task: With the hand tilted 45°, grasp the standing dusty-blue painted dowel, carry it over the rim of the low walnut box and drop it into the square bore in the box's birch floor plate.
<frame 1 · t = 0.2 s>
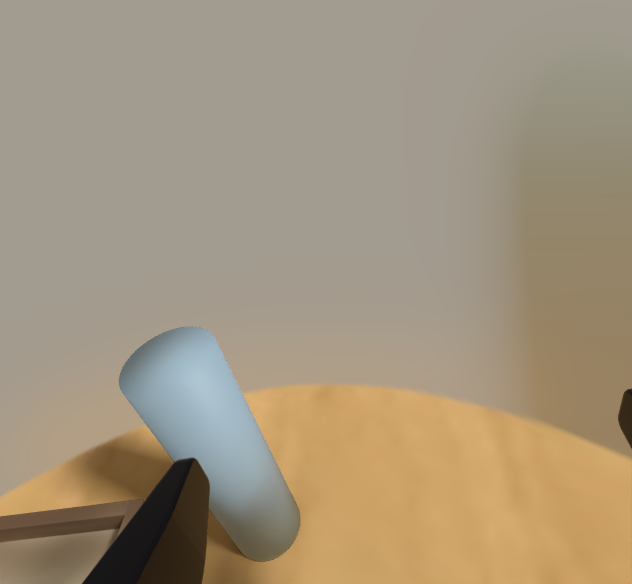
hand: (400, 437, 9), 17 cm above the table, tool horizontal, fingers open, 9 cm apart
peg: (267, 524, 25), on the table
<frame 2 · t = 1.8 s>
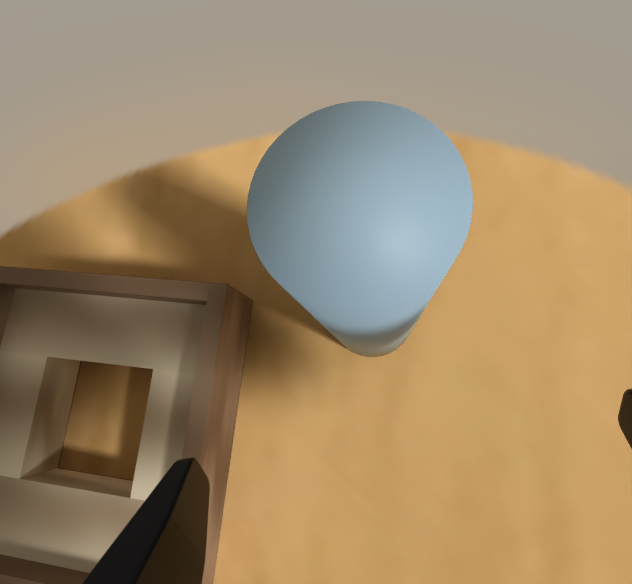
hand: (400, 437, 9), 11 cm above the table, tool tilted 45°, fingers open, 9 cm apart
peg: (371, 316, 21), on the table
bore box: (117, 419, 22), on the table
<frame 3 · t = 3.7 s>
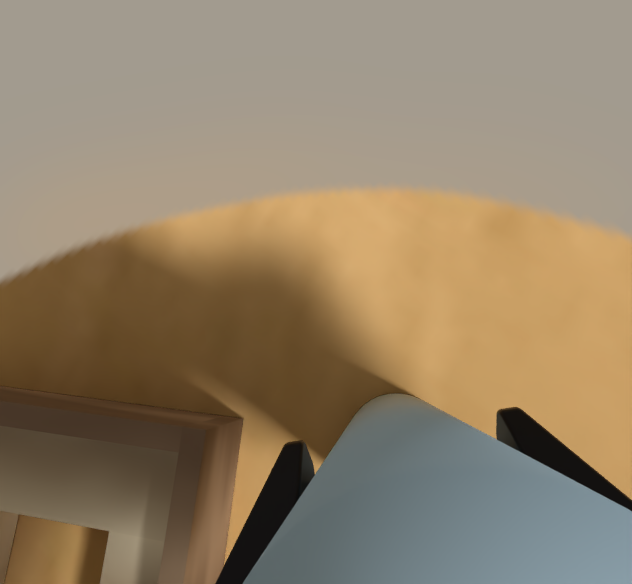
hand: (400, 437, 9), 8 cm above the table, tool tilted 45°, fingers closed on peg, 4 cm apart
peg: (398, 447, 16), on the table, touching gripper
bore box: (69, 573, 17), on the table
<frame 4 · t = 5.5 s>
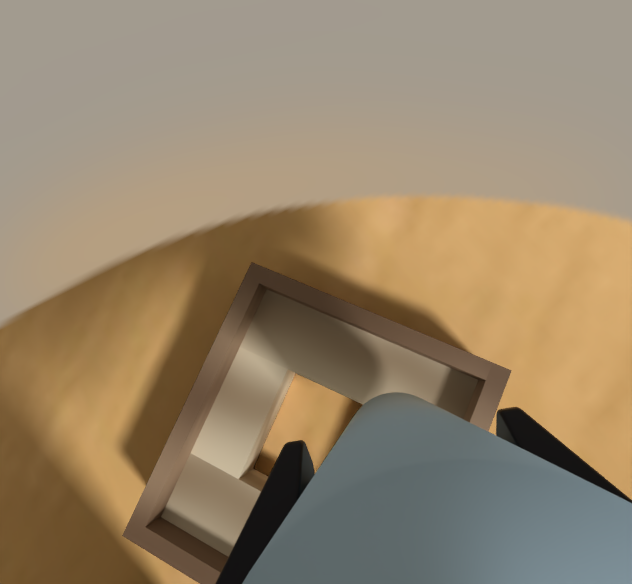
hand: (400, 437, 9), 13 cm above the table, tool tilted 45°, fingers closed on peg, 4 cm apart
peg: (398, 446, 16), point 6 cm above the table, touching gripper
bore box: (322, 442, 22), on the table
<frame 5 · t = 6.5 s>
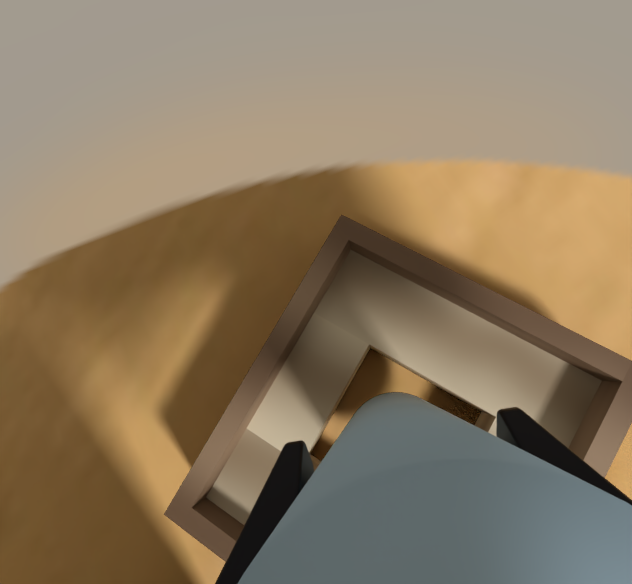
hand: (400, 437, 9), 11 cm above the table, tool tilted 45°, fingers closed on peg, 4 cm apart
peg: (397, 446, 16), point 3 cm above the table, touching gripper
bore box: (394, 433, 19), on the table
when the fingers open (9 cm above the table, at t = 7.2 s): peg drops 1 cm, resting in bore box.
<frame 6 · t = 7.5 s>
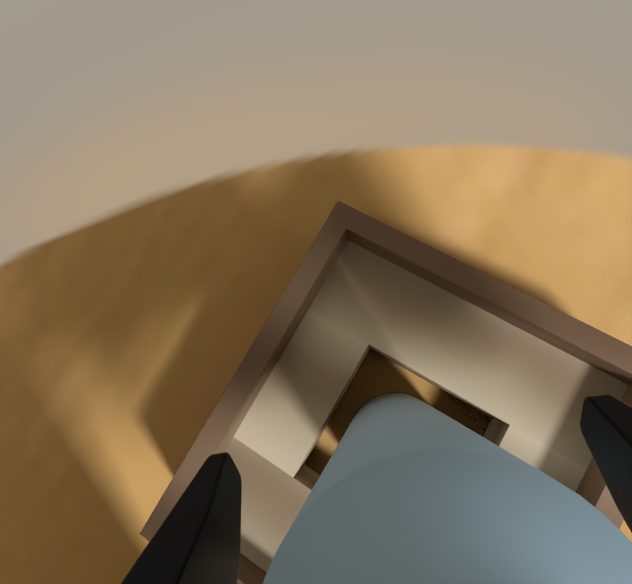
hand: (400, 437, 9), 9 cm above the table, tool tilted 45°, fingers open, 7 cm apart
peg: (396, 442, 17), resting in bore box
bore box: (396, 441, 17), on the table
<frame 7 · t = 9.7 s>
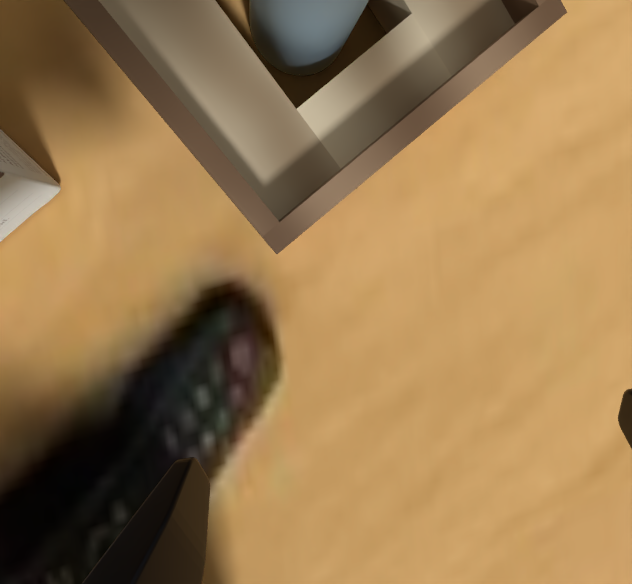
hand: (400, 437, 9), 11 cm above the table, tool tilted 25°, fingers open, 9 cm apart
peg: (298, 23, 17), resting in bore box
bore box: (298, 22, 17), on the table
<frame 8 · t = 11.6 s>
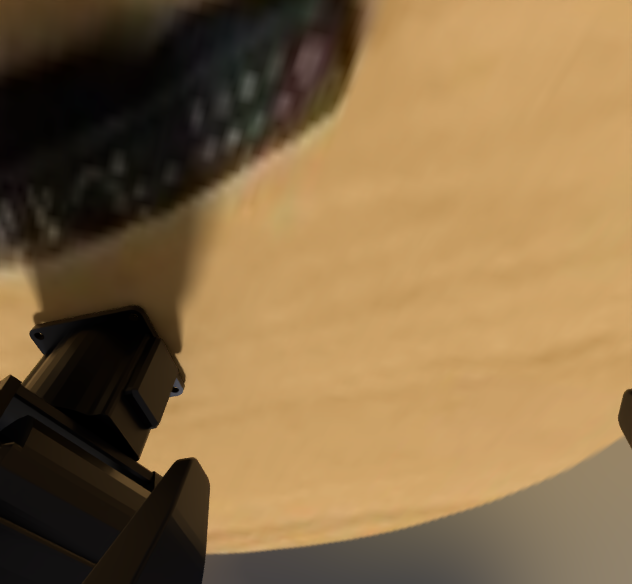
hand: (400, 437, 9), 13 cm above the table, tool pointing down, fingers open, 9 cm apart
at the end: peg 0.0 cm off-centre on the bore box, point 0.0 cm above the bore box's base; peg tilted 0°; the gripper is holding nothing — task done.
